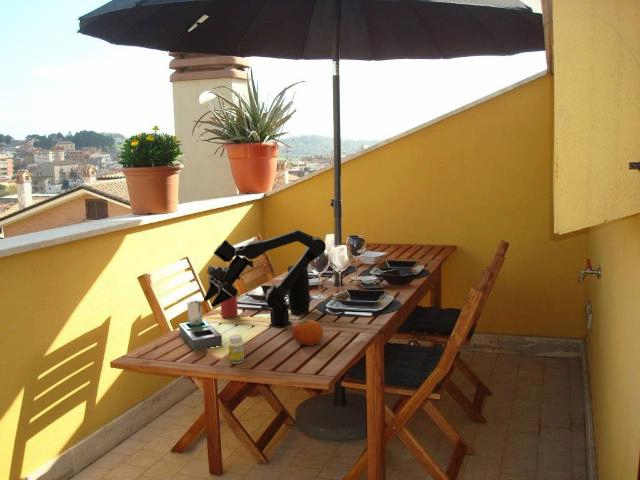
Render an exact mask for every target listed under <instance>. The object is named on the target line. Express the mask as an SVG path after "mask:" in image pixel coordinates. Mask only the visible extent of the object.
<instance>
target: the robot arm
mask: <svg viewBox="0 0 640 480" xmlns="http://www.w3.org/2000/svg"><path fill="white" fill-rule="evenodd" d="M296 242H298V243H300V244H302V245H304V246H306V247H305V249H304V251H303V252H302V253H303V254H302V255H301V257H299V259H298V260H297V261H296V262H295V264H294V266H293V265H292V266H293V267H292V269H291V270H290V271H289V272H288V271H287V274H285V276H284V277H283V278H282V280H281V281H280V282H279V283H277V284H275V283H274V282H273V283H272V284H271V286H270V287H269V289H267V290H266V296H265V300H266V304H267V306H269V308H270V313H269V315H270V323H269V325H268V326H271V327H276V328H281V329H282V328H285V327H287V326H289V325H291V324H292V321H290V313H289V312H290V308H288V307H289V305H288V301H287V300H286V299H285V297H286V295H287V294H288V289H289V288H290V287H291V286H292V284H293V283H294V282H295V281H296V279H297V278H298V277H299V276H300V275H301V273H302V272H303V271H304V270H305V268H306V267H307V268H308V266H309V265H310V264H311V262H313V261H314V260H315V259H317V258H319V256H321V255H322V254H323V253H324V252H325V251H326V248H327V246H326V243H325V241H324V240H323V238H322V237H320V236H314V235H313V236H312V235H310V234H309V233H305V232H303V231H302V230H301V229H294V230H293V231H290V232H287V233H286V232H285V233H283V234H281V235H280V234H279V235H277V236H273V237H270V238H267V239H264V240H263V239H262V240H253V241H251V240H250V241H248V242H246V243H244V245H241V246H236V247H235V246H233V245H232V244H231V243H230V242H229V241H228V240H227V239H224V240H223V242H221V243H220V244H219V245H218V246H217V247H216V248H215V250H214V251H213V254H214V255H215V256H216V257H218V258H219V259H220V261H222V262H223V263H229V264H228V265H227V266H224V267H221V266H218V265H217V266H213V265H210V264H209V265H208V267H207V270H206V274H208V275H209V277H208V280H207V282H208V288H207V291H206V293H205V296H204V298H203V301H204V302H208V301H209V300H210V299H212V298H213V297H214V299H213V301H212V303H211V304H210V305H211V307H213V308H214V307H216V306H218V305H219V304H220V305H221V303H222V302H224V301H226V300H228V299H230V298H232V296H233V297H235V296H237V295H238V292H239V290H238V289H237V288H236V287H235V286H234V283H236V281H237V280H238V281H240V279H241V277H240V276H241V275H242V274H243V273H244V272H245V270H246V268H247V267H249V268H252V269H253V268H254V264H253V263H254V260H255V259H256V258H258V257H260V256H262V255H263V254H265V253H266V252H268V251H271V250H274V249H277V248H280V247H283V246H286V245H290V244H293V243H296ZM234 287H235V288H234ZM231 295H232V296H231Z"/></svg>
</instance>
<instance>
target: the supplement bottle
mask: <svg viewBox="0 0 640 480" xmlns="http://www.w3.org/2000/svg"><path fill="white" fill-rule="evenodd" d="M228 341H229V343H228V355H229V362H230V363H231V362H232V363H231V364H241V362H242V363H244V362H245V348H244V341H243V337H242V335H241V334H231V335H229V337H228Z"/></svg>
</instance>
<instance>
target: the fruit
mask: <svg viewBox="0 0 640 480" xmlns="http://www.w3.org/2000/svg"><path fill="white" fill-rule="evenodd" d="M323 330H324V329H323V327H322V325H321V324H320V322H317V321H315V320H314V319H305V320H300V321H298V322H297V323H295V325H294V326H293V328H292V338H293V339H294V340H295V342H296V343H298V344H299V345H304V346H314V345H316V344H318V343H320V341H321V340H322V339H323V335H324V331H323Z"/></svg>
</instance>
